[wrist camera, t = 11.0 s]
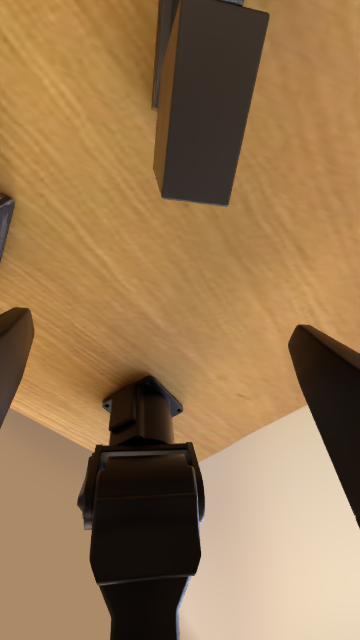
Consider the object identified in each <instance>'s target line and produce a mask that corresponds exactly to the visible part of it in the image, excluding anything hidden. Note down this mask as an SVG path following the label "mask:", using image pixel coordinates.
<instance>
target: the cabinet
mask: <svg viewBox="0 0 360 640" xmlns="http://www.w3.org/2000/svg"><path fill="white" fill-rule="evenodd" d="M179 1H180V0H159V3H158V18H157V32H156V47H155V61H154V76H153V90H152V105H151V109H152V110H155V111H158V100H159V88H160V75H161V68H162V64H163V60H164V57H165V53H166V49H167V46H168V42H169V38H170V34H171V31H172V27H173V23H174V20H175V16H176V12H177V8H178V5H179Z"/></svg>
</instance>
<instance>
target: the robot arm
mask: <svg viewBox="0 0 360 640" xmlns="http://www.w3.org/2000/svg"><path fill="white" fill-rule="evenodd" d="M33 338H34V326H33V320H32V315H31V311H30V310H29V309H28V308H18V307H15V308H12V309H10V310H8V311H6V312H5V313H3V314H1V315H0V428H1V426H2V423H3V421H4V419H5V416H6V414H7V412H8V409H9V407H10V405H11V403H12V400H13V398H14V396H15V393H16V391H17V389H18V386H19V384H20V381H21V379H22V376H23V373H24V370H25V366H26V363H27V359H28V356H29V352H30V349H31V345H32V342H33ZM288 348H289V352H290V355H291V359H292V362H293V365H294V369H295V372H296V375H297V379H298V382H299V384H300V387H301V390H302V392H303V394H304V397H305V399H306V402H307V404H308V406H309V409H310V411H311V413H312V416H313V418H314V421H315V423H316V425H317V428H318V430H319V432H320V435H321V437H322V439H323V442H324V444H325V447H326V449H327V451H328V454H329V456H330V458H331V461H332V463H333V466H334V468H335V470H336V473H337V475H338V478H339V480H340V482H341V485H342V487H343V490H344V492H345V494H346V497H347V499H348V501H349V504H350V506H351V509H352V511H353V513H354V515H355V516H356V521H357V523H358V526H359V528H360V354H359V353H357V352H356V351H354V350H352V349H351V348H349V347H347V346H345V345H344V344H342V343H340V342H338V341H337V340H335V339H333V338H331V337H330V336H328V335H326V334H324V333H323V332H321V331H319V330H317V329H316V328H314V327H312V326H310V325H301V324H300V325H297V326H296V328H295V330H294V332H293V334H292V336H291V338H290V340H289V343H288ZM102 407H103V408H104V409H106V410H107V411H108V412H109V413H110V422H109V431H110V440H109V445H108V446H103V445H96V448H95V452H94V453H92V456H91V457H89V461H88V467H87V473H86V477H85V480H84V483H83V485H82V488H81V491H80V494H79V497H78V502H77V506H78V507H79V508H80V510H81V511H82V512H83V519H84V530H92V535H91V546H90V564H91V568H92V571H93V574H94V577H95V580H96V583H97V585H99V587H100V590H101V592H102V595H103V597H104V600H105V603H106V605H107V608H108V610H109V613H110V615H111V635H110V640H180V632H179V608H180V605H181V603H182V600H183V597H184V595H185V592H186V589H187V586H188V584H189V581H190V578H191V576H194V575H195V574H196V572H197V569H198V565H199V562H200V558H201V548H200V532H199V522H202V521H203V519H204V513H205V496H204V486H203V480H202V475H201V472H200V468H199V465H198V461H197V458H196V454H195V451H194V447H193V444H192V442H186V443H179V444H175V443H174V434H173V424H172V417H174V416H176V415H178V414H180V413H181V412H183V406H182V405H181V404H180V403H179V402H178V401H177V400H176V399H175V398H174V397H173V396H172V395H171V394H170V393H169V392H168V391H167V390H166V389H165V388H164V387H163V386H162V385H161V384H160V383H159V382H158V381H157V380H156V379H155V378H154V377H153V376H148V377H146V378H144V379H142V380H140V381H138V382H137V383H135V384H133V385H131V386H129V387H128V388H126V389H124V390H122V391H120V392H118V393H117V394H115V395H113V396H111V397H109V398H108V399H106V400H104V401H103V404H102Z"/></svg>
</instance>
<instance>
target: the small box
mask: <svg viewBox="0 0 360 640" xmlns="http://www.w3.org/2000/svg"><path fill="white" fill-rule="evenodd" d="M13 208H14V200H13V199H12V198H11V197H8V196H6V195H4V194H2V193H0V261H1V257H2V253H3V249H4V245H5V241H6V237H7V233H8V228H9V224H10V221H11V216H12V212H13Z"/></svg>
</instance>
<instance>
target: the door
mask: <svg viewBox="0 0 360 640" xmlns="http://www.w3.org/2000/svg"><path fill="white" fill-rule="evenodd" d="M243 4H244V0H180V1H179V5H178V8H177V12H176V16H175V20H174V23H173V27H172V31H171V34H170V38H169V42H168V46H167V49H166V53H165V57H164V60H163V64H162V68H161V75H160V88H159V100H158V113H157V126H156V138H155V151H154V164H153V169H154V173H155V176H156V179H157V183H158V186H159V189H160V193H161V196H162V198H163V199H170V200H177V201H185V202H193V203H200V204H208V205H216V206H223V207H227V206H228V205H229V200H230V196H231V191H232V186H233V182H234V177H235V173H236V168H237V163H238V159H239V154H240V150H241V145H242V141H243V136H244V131H245V127H246V122H247V118H248V113H249V108H250V104H251V99H252V95H253V90H254V86H255V81H256V76H257V72H258V67H259V63H260V58H261V54H262V49H263V44H264V40H265V35H266V31H267V26H268V21H269V14H268V13H266V12H262V11H258V10H254V9H250V8H246V7H243Z"/></svg>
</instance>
